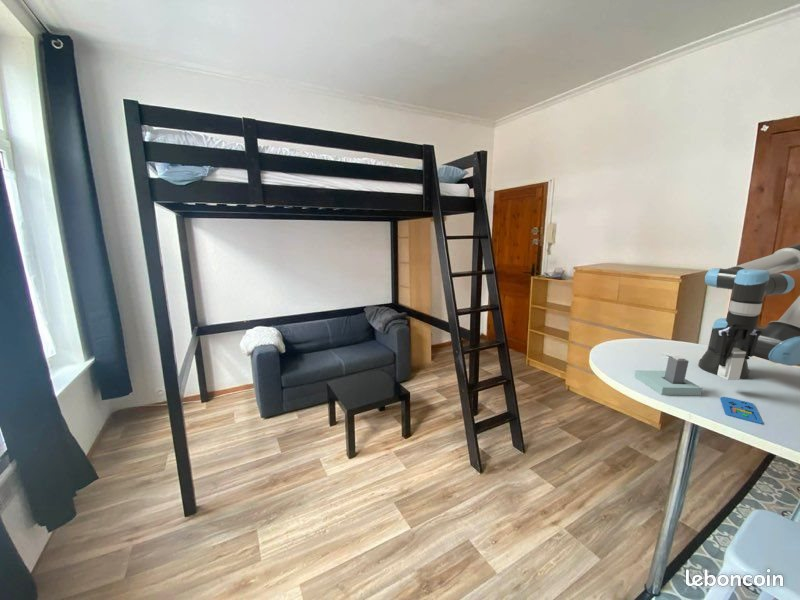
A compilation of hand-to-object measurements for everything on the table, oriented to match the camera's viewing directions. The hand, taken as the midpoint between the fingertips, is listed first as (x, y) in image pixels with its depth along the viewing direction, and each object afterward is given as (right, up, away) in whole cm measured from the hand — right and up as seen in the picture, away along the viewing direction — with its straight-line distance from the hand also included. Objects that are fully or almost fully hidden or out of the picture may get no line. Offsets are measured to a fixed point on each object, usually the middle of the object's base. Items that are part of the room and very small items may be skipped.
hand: (728, 373), depth 114 cm
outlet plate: (-18, -6, +6) cm, 20 cm away
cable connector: (0, -1, 0) cm, 2 cm away
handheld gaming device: (-7, -10, -10) cm, 16 cm away
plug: (-17, -6, +5) cm, 19 cm away
